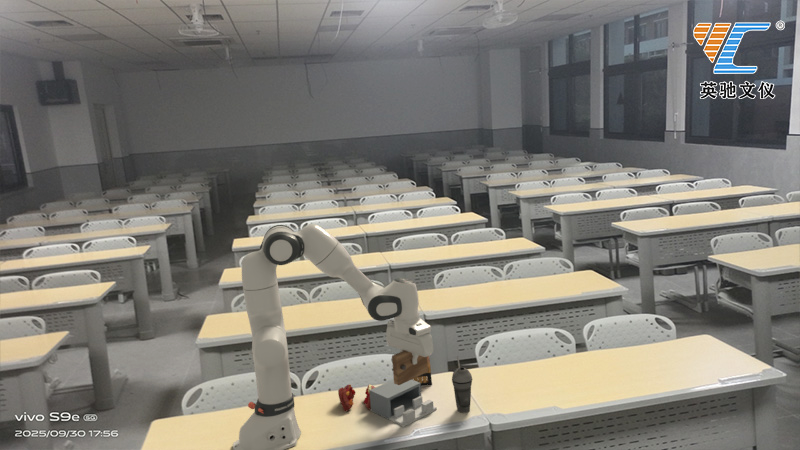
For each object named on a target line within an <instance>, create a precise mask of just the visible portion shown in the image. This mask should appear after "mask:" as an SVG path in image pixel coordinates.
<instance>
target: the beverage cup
mask: <svg viewBox="0 0 800 450" xmlns="http://www.w3.org/2000/svg"><path fill="white" fill-rule="evenodd" d="M456 360H457V366H458V368H457V369H455V370H454V371H453V373H452V376H451V383H452V386H453V391H454V398H455V399H454V400H455V405H456V411H457V412H458V413H461V414H466V413H469V412H470V411H471V397H472V396H471V395H472V384H473V377H472V373H471V372H470V370H468V369H467V368H465V367H461V364H460V359H459V356H458V355H457V356H456Z"/></svg>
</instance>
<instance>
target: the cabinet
mask: <svg viewBox="0 0 800 450" xmlns="http://www.w3.org/2000/svg"><path fill="white" fill-rule="evenodd" d="M374 387H375V386H374ZM369 392H370V405H371V410H370V412H372V413H374V414H376V415H378V416H381V417H382V418H385V419H387V420H389V421H391V422H393V423H395V424H397V425H399V426H401V427H406V426H408V425H410V424H412V423H414V422H416V421H418V420H419V419H422V418H423V417H426V416H428V415H429V414H431V413H433V412H435V411H437V407H436V406H434V401H433V400H431V399H428V400H425V401H423V396H422V386H421V383H420V382H417V381H414V379H413V380H409V381H407V382H405V383H403V384H401V385H397V384H394V378H393V379H391V380H389V381H387V382H385V383H383V384H381V385H378V386H376V387H375V388H373V389H371V390H369Z"/></svg>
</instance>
